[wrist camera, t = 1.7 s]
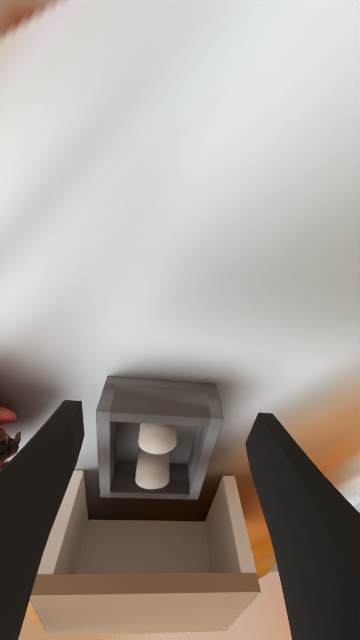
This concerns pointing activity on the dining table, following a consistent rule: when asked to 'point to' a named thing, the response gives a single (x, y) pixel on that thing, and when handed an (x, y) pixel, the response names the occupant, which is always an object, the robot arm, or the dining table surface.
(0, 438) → the dragon fruit
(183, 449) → the tray
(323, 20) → the dining table surface
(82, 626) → the shallow storage bin
